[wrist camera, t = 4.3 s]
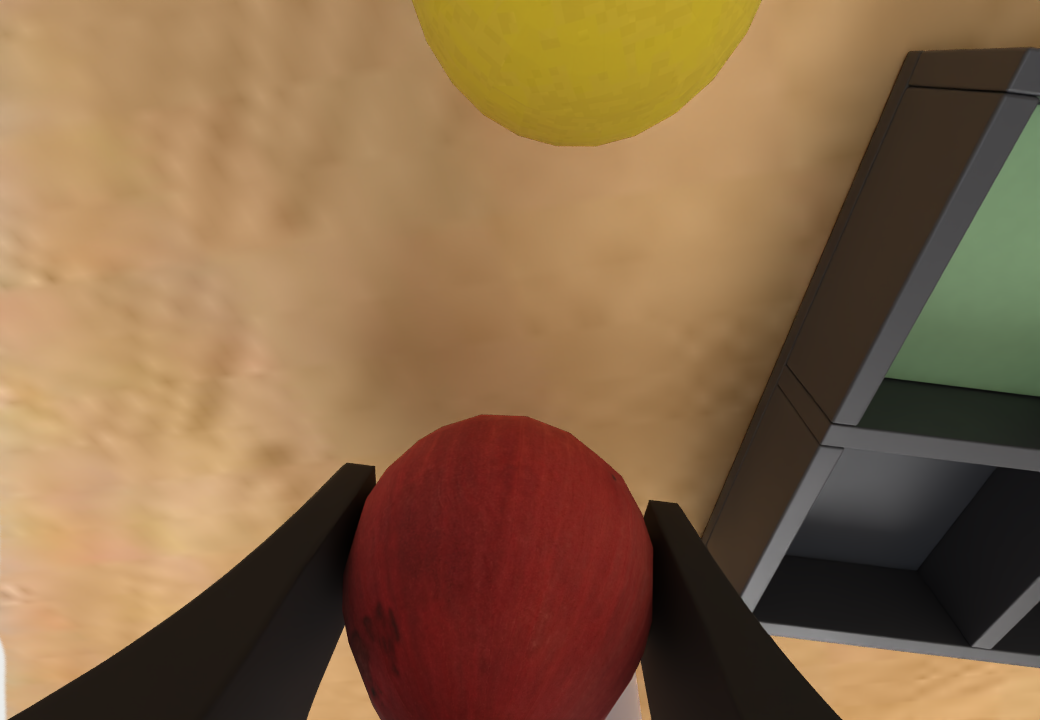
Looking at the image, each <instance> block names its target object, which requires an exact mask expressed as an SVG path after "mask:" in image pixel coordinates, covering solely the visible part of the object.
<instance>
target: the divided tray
mask: <svg viewBox="0 0 1040 720" xmlns="http://www.w3.org/2000/svg"><path fill="white" fill-rule="evenodd" d="M701 540H702V541H703V543H704V544H705V546H706V547H707V549H708V550H709V552H710V553H711V555H712V557H713V558H714V560H715V561H716V563H717V564H718V565H719V567H720V568H721V570H722V571H723V573H724V574H725V576H726V577H727V578H728V580H729V581H730V583H731V584H732V585H733V587H734V588H735V590H736V591H737V593H738V594H739V595H740V597H741V598H742V600H743V601H744V602H745V604H746V605H747V606H748V608H749V609H750V611H751V612H752V613H753V615H754V616H755V617H756V619H757V620H758V621H759V622H760V624H761V625H762V626H763V628H764V629H765V630H766V631H767V633H768V634H769V635H772V636H780V637H788V638H796V639H805V640H813V641H821V642H829V643H838V644H846V645H854V646H862V647H871V648H879V649H887V650H895V651H903V652H912V653H920V654H928V655H936V656H945V657H953V658H961V659H969V660H977V661H986V662H994V663H1002V664H1010V665H1019V666H1027V667H1035V668H1040V48H1034V47H1020V48H990V49H959V50H929V51H910V52H909V53H908V55H907V57H906V60H905V62H904V64H903V67H902V69H901V71H900V74H899V76H898V78H897V81H896V83H895V85H894V88H893V90H892V92H891V95H890V97H889V99H888V102H887V104H886V107H885V109H884V111H883V114H882V116H881V118H880V121H879V123H878V125H877V128H876V130H875V132H874V135H873V137H872V139H871V142H870V144H869V146H868V149H867V151H866V154H865V156H864V158H863V161H862V163H861V165H860V168H859V170H858V172H857V175H856V177H855V179H854V182H853V184H852V186H851V189H850V191H849V193H848V196H847V198H846V201H845V203H844V205H843V208H842V210H841V212H840V215H839V217H838V219H837V222H836V224H835V226H834V229H833V231H832V233H831V236H830V238H829V240H828V243H827V245H826V248H825V250H824V252H823V255H822V257H821V259H820V262H819V264H818V266H817V269H816V271H815V273H814V276H813V278H812V280H811V283H810V285H809V287H808V290H807V292H806V295H805V297H804V299H803V302H802V304H801V306H800V309H799V311H798V313H797V316H796V318H795V320H794V323H793V325H792V327H791V330H790V332H789V334H788V337H787V339H786V342H785V344H784V346H783V349H782V351H781V353H780V356H779V358H778V360H777V363H776V365H775V367H774V370H773V372H772V374H771V377H770V379H769V381H768V384H767V386H766V389H765V391H764V393H763V396H762V398H761V400H760V403H759V405H758V407H757V410H756V412H755V414H754V417H753V419H752V421H751V424H750V426H749V428H748V431H747V433H746V436H745V438H744V440H743V443H742V445H741V447H740V450H739V452H738V454H737V457H736V459H735V461H734V464H733V466H732V468H731V471H730V473H729V475H728V478H727V480H726V482H725V485H724V487H723V490H722V492H721V494H720V497H719V499H718V501H717V504H716V506H715V508H714V511H713V513H712V515H711V518H710V520H709V522H708V525H707V527H706V529H705V532H704V534H703V537H702V539H701Z"/></svg>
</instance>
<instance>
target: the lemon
mask: <svg viewBox="0 0 1040 720" xmlns="http://www.w3.org/2000/svg"><path fill="white" fill-rule="evenodd" d="M761 1H762V0H412V2H413V5H414V8H415V10H416V13H417V16H418V19H419V22H420V24H421V27H422V30H423V33H424V35H425V38H426V41H427V43H428V45H429V46H430V48H431V49H432V51H433V53H434V54H435V56H436V58H437V59H438V61H439V62H440V64H441V66H442V67H443V69H444V70H445V72H446V74H447V75H448V77H449V79H450V80H451V82H452V83H453V84H454V85H455V86H456V87H457V89H458V90H459V91H460V92H461V93H462V94H463V95H464V96H465V97H466V98H467V99H468V100H469V101H470V102H471V103H472V104H473V105H474V106H475V107H476V108H477V109H478V110H479V111H480V112H481V113H482V114H483V115H485V116H486V117H488V118H490V119H492V120H493V121H495V122H497V123H498V124H500V125H502V126H503V127H505V128H507V129H508V130H510V131H512V132H513V133H515V134H517V135H518V136H522V137H526V138H529V139H533V140H536V141H540V142H544V143H547V144H551V145H554V146H599V145H603V144H607V143H610V142H614V141H618V140H621V139H625V138H629V137H633V136H636V135H638V134H639V133H641V132H643V131H645V130H647V129H648V128H650V127H652V126H654V125H656V124H657V123H659V122H661V121H663V120H664V119H666V118H668V117H670V116H672V115H673V114H675V113H676V112H678V111H679V110H680V109H681V108H682V107H683V106H684V105H685V104H686V103H688V102H689V101H690V100H691V99H692V98H693V97H694V96H695V95H696V94H698V93H699V92H700V91H701V90H702V89H703V88H704V87H705V86H707V85H708V84H709V83H710V82H711V81H712V80H713V79H714V77H715V76H716V75H717V73H718V72H719V70H720V69H721V68H722V66H723V65H724V64H725V62H726V61H727V59H728V58H729V57H730V55H731V54H732V53H733V51H734V50H735V48H736V47H737V46H738V44H739V43H740V42H741V40H742V39H743V37H744V36H745V35H746V33H747V31H748V29H749V27H750V25H751V23H752V20H753V18H754V16H755V14H756V12H757V10H758V7H759V5H760V3H761Z"/></svg>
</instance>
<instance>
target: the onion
mask: <svg viewBox="0 0 1040 720" xmlns="http://www.w3.org/2000/svg"><path fill="white" fill-rule="evenodd" d="M652 599H653V546H652V543H651V540H650V536H649V533H648V530H647V527H646V524H645V521H644V518H643V515H642V513H641V511H640V509H639V507H638V505H637V504H636V502H635V500H634V498H633V496H632V494H631V493H630V491H629V489H628V487H627V485H626V483H625V482H624V480H623V478H622V476H621V475H620V474H619V473H617V472H616V471H615V470H614V469H613V468H612V467H611V466H610V465H609V464H607V463H606V462H605V461H604V460H603V459H602V458H600V457H599V456H598V455H597V454H595V453H594V452H593V451H592V450H591V449H589V448H588V447H587V446H586V445H584V444H583V443H582V442H581V441H579V440H578V439H577V438H576V437H574V436H573V435H572V434H571V433H569V432H566V431H563V430H561V429H558V428H556V427H553V426H551V425H548V424H545V423H543V422H540V421H538V420H535V419H532V418H530V417H527V416H505V415H478V416H475V417H472V418H469V419H465V420H462V421H459V422H456V423H453V424H449V425H446V426H443V427H441V428H439V429H437V430H436V431H434V432H432V433H430V434H429V435H427V436H425V437H424V438H422V439H420V440H419V441H417V442H416V443H415V444H414V445H413V446H412V447H411V448H410V449H408V450H407V451H406V452H405V453H404V454H403V455H402V456H401V457H399V458H398V459H397V460H396V461H395V462H394V463H393V464H392V465H390V466H389V467H388V468H387V469H386V471H385V472H384V474H383V475H382V476H381V478H380V479H379V481H378V482H377V484H376V485H375V487H374V488H373V490H372V491H371V493H370V494H369V495H368V497H367V498H366V501H365V504H364V507H363V510H362V513H361V516H360V519H359V522H358V525H357V528H356V532H355V535H354V538H353V542H352V545H351V549H350V552H349V556H348V559H347V563H346V567H345V570H344V574H343V601H342V612H343V617H344V622H345V627H346V632H347V637H348V642H349V645H350V648H351V650H352V653H353V656H354V658H355V661H356V664H357V666H358V669H359V672H360V674H361V677H362V679H363V682H364V685H365V687H366V690H367V692H368V695H369V698H370V700H371V703H372V705H373V707H374V709H375V710H376V712H377V714H378V716H379V717H380V719H381V720H605V719H606V717H607V716H608V714H609V713H610V711H611V710H612V708H613V707H614V705H615V704H616V702H617V701H618V699H619V698H620V696H621V695H622V693H623V692H624V690H625V689H626V687H627V686H628V684H629V683H630V681H631V680H632V678H633V675H634V673H635V671H636V669H637V667H638V665H639V662H640V660H641V658H642V656H643V654H644V651H645V647H646V643H647V639H648V635H649V631H650V628H651V624H652Z"/></svg>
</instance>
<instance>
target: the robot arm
mask: <svg viewBox="0 0 1040 720" xmlns="http://www.w3.org/2000/svg"><path fill="white" fill-rule="evenodd" d="M375 485H376V475H375V466H369V465H361V464H353V463H346V464H345V465H343V466H342V467H341V468H340V469H339V470H338V471H337V472H336V473H335V474H334V475H333V476H332V477H331V478H330V479H329V480H328V481H327V482H326V483H325V484H324V485H323V486H322V487H321V488H320V489H319V490H318V491H317V492H316V493H315V494H314V495H313V496H312V497H311V498H310V499H309V500H308V501H307V502H306V503H305V504H304V505H303V506H302V507H301V508H300V509H299V510H298V511H297V512H296V513H295V514H293V515H292V516H291V517H290V518H289V519H288V520H287V521H286V522H285V523H284V524H283V525H282V526H281V527H279V528H278V529H277V530H276V531H275V532H274V533H273V534H272V535H271V536H270V537H269V538H268V539H266V540H265V541H264V542H263V543H262V544H261V545H260V546H258V547H257V548H256V549H255V550H254V551H253V552H251V553H250V554H249V555H248V556H247V557H245V558H244V559H243V560H242V561H241V562H240V563H238V564H237V565H236V566H235V567H234V568H233V569H231V570H230V571H229V572H228V573H227V574H225V575H224V576H223V577H222V578H220V579H219V580H218V581H217V582H215V583H214V584H213V585H212V586H210V587H209V588H208V589H206V590H205V591H204V592H203V593H201V594H200V595H199V596H197V597H196V598H195V599H193V600H192V601H191V602H189V603H188V604H187V605H185V606H184V607H183V608H181V609H180V610H179V611H177V612H176V613H174V614H173V615H172V616H170V617H169V618H168V619H166V620H165V621H163V622H162V623H160V624H159V625H157V626H156V627H155V628H153V629H152V630H150V631H149V632H147V633H146V634H144V635H143V636H141V637H140V638H139V639H137V640H136V641H134V642H133V643H131V644H130V645H128V646H127V647H125V648H124V649H122V650H121V651H119V652H118V653H116V654H115V655H113V656H112V657H110V658H109V659H107V660H106V661H104V662H103V663H101V664H99V665H98V666H96V667H95V668H93V669H91V670H90V671H88V672H86V673H85V674H83V675H81V676H80V677H78V678H77V679H75V680H73V681H72V682H70V683H68V684H67V685H65V686H63V687H62V688H60V689H58V690H57V691H55V692H54V693H52V694H50V695H49V696H47V697H45V698H44V699H42V700H40V701H39V702H37V703H35V704H34V705H32V706H31V707H29V708H27V709H25V710H24V711H22V712H20V713H18V714H17V715H15V716H13V717H12V718H10V719H8V720H307V717H308V714H309V711H310V708H311V705H312V703H313V700H314V698H315V695H316V692H317V690H318V687H319V685H320V682H321V680H322V678H323V675H324V673H325V670H326V668H327V666H328V663H329V661H330V659H331V656H332V654H333V652H334V649H335V647H336V645H337V642H338V640H339V638H340V635H341V633H342V631H343V628H344V626H345V622H344V617H343V612H342V601H343V574H344V570H345V567H346V563H347V559H348V556H349V552H350V549H351V545H352V542H353V538H354V535H355V532H356V528H357V525H358V522H359V519H360V516H361V513H362V510H363V507H364V504H365V501H366V498H367V497H368V495H369V494H370V493H371V491H372V490H373V488H374V487H375ZM644 521H645V524H646V527H647V530H648V533H649V536H650V540H651V543H652V546H653V599H652V624H651V628H650V631H649V635H648V639H647V643H646V647H645V651H644V654H643V656H642V658H641V665H642V671H643V676H644V681H645V687H646V692H647V698H648V703H649V709H650V714H651V720H842V719H841V718H840V717H839V716H838V715H837V714H836V713H835V711H834V710H833V709H832V708H831V707H830V706H829V705H828V704H827V703H826V702H825V701H824V700H823V698H822V697H821V696H820V695H819V694H818V693H817V692H816V690H815V689H814V688H813V687H812V686H811V685H810V684H809V682H808V681H807V680H806V679H805V678H804V677H803V676H802V674H801V673H800V672H799V671H798V670H797V669H796V668H795V666H794V665H793V664H792V663H791V662H790V660H789V659H788V658H787V657H786V655H785V654H784V653H783V652H782V651H781V649H780V648H779V647H778V646H777V644H776V643H775V642H774V640H773V639H772V638H771V637H770V635H769V634H768V633H767V631H766V630H765V629H764V628H763V626H762V625H761V624H760V622H759V621H758V620H757V619H756V617H755V616H754V615H753V613H752V612H751V611H750V609H749V608H748V606H747V605H746V604H745V602H744V601H743V600H742V598H741V597H740V595H739V594H738V593H737V591H736V590H735V588H734V587H733V585H732V584H731V583H730V581H729V580H728V578H727V577H726V576H725V574H724V573H723V571H722V570H721V568H720V567H719V565H718V564H717V563H716V561H715V560H714V558H713V557H712V555H711V553H710V552H709V550H708V549H707V547H706V546H705V544H704V543H703V541H702V540H701V538H700V537H699V535H698V534H697V532H696V531H695V529H694V527H693V526H692V524H691V523H690V521H689V520H688V518H687V517H686V515H685V513H684V512H683V510H682V509H681V507H680V506H679V505H678V504H677V503H669V502H661V501H653V500H649V503H648V506H647V509H646V512H645V515H644ZM605 720H642V716H641V709H640V701H639V693H638V686H637V678H636V671H635V673H634V675H633V678H632V680H631V681H630V683H629V684H628V686H627V687H626V689H625V690H624V692H623V693H622V695H621V696H620V698H619V699H618V701H617V702H616V704H615V705H614V707H613V708H612V710H611V711H610V713H609V714H608V716H607V717H606V719H605Z"/></svg>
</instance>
